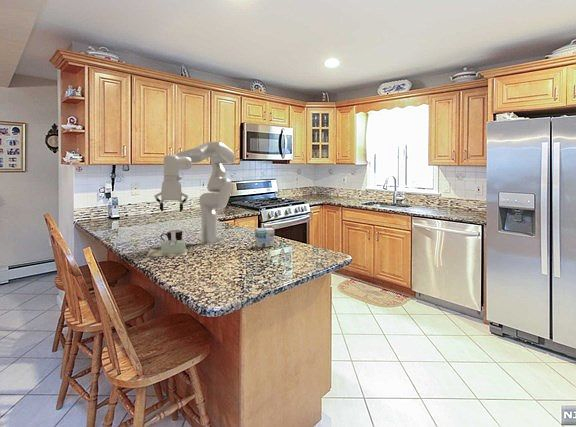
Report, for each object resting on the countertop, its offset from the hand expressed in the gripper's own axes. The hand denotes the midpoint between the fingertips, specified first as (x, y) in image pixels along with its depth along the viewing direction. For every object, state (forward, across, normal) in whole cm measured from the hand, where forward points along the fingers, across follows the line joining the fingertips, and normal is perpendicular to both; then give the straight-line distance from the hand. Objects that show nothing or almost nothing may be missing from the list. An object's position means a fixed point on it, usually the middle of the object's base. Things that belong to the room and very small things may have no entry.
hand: (171, 211), depth 191 cm
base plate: (+24, +2, +1) cm, 24 cm away
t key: (+17, -1, +1) cm, 17 cm away
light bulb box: (+23, -52, -17) cm, 59 cm away
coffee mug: (+24, +2, -17) cm, 29 cm away
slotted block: (+22, -1, +1) cm, 22 cm away
